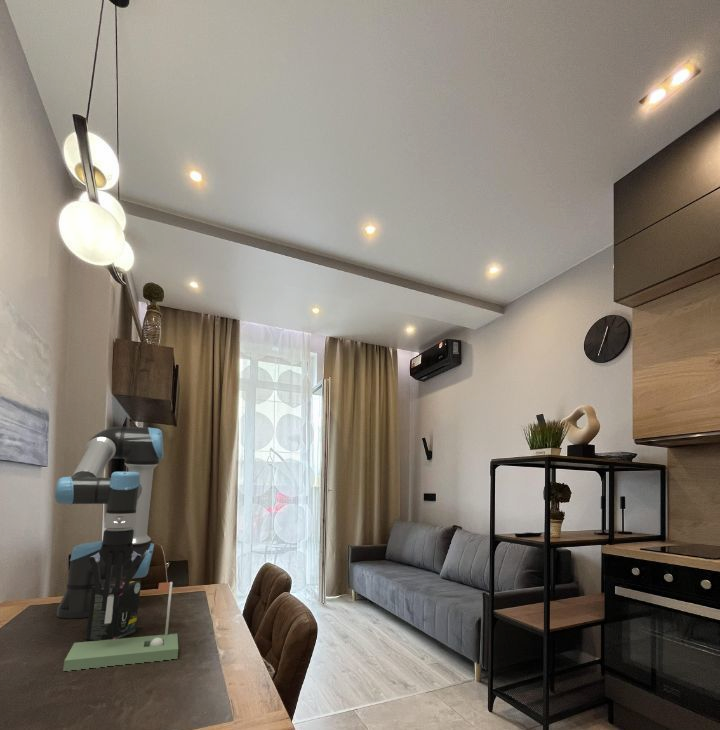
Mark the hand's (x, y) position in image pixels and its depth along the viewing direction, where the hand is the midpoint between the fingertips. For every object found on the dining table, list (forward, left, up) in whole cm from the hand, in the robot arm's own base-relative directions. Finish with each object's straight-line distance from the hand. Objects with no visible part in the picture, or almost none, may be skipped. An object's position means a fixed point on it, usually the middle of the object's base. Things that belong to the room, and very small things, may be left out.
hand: (108, 621), depth 129 cm
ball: (+1, +13, -7) cm, 14 cm away
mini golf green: (+1, +5, -9) cm, 10 cm away
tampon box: (-19, 0, -9) cm, 21 cm away
